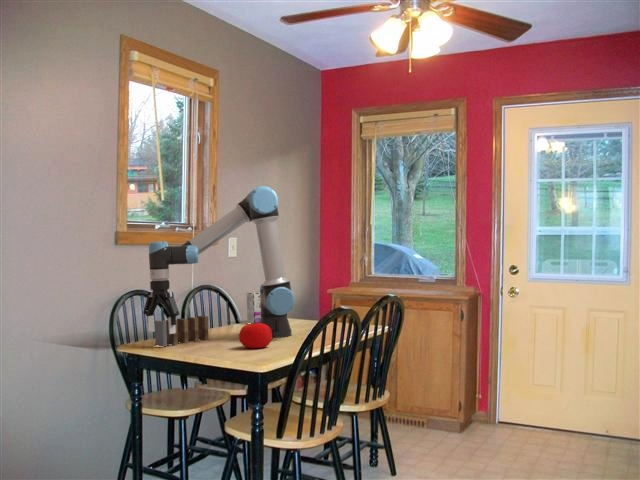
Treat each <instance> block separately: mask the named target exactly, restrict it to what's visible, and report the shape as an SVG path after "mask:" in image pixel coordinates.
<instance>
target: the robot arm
mask: <svg viewBox="0 0 640 480" xmlns="http://www.w3.org/2000/svg"><path fill="white" fill-rule="evenodd" d="M278 205H279V197H278V195H277V193H276V191H275V190H274V189H272V187H269V186H265V185H261V186H256V187H255V188H254V189H252V190H251V191H250V192H249V193H248V194H247V195H246V196H245V197H244V198H243V199H242V200H241V201H240V202H238V203H236V207H235V208H234V209H232V210H230V211H229V212H227V214H225V215H224V216H222V217H220V218H218V220H216V221H215V222H213V223H212V224H210V225H209V226H208V227H206V228H205V229H203V230H202V231H200V232H199V233H197V234H196V235H195V236H193V237H191V238H190V239H189V240H187V241H186V242H184V243H183V244H182V245H175V246H173V245H172V246H171V245H169V243H168V241H151V242H150V243H149V245H148V259H149V260H148V261H149V263H148V264H149V279H150V281H149V286H150V287H149V288H150V290H151V291H147V294H146V295H147V296H146V300H145V304H144V308H143V312H142V313H143V315H145V316H146V320H147V321H146V323H147V333H152V332H154V333H155V315H154V313H155V310H156V308H157V306H158V305H159V304H161V305H163V306H164V308H165V310H166V312H167V314H168V317H167V320H168V321H169V334H173V333H176V327H175V325H176V320H177V317H178V316H180V311H179V308H178V305H177V302H176V300H175V296H174V295H175V294H174V292H173V291H168V290H170V289H171V288H170V280H169V279H170V267H169V266H170V265H192V264H198V263H199V255H201V254H202V253H204V252H205V251H207V250H209V249H210V248H211V247H213V245H215V244H216V243H219V241H221V240H222V239H224V238H225V237H227V236H228V235H230V234H231V233H232V232H234V231H235V230H237V229H238V228H239V227H241V226H243V224H245V223H251V222H252V223H254V224H255V227H256V233H257V234H256V235H257V240H258V246H259V250H260V251H259V252H260V259H261V262H262V263H261V264H262V269H263V276H264V282H263V283H262V284H261V285H260V289H259V292H260V301H261V320H260V323H262V324H266V325H268V326H269V327H270V329H271V332H272V339H273V338H285V337H290V336H292V328H291V325H290V322H289V319H288V313H290V312H291V311H292V309H293V308H294V306H295V300H296V298H295V295H294V293H293V291H292V286H291V280H290V279H289V278H287V277H286V273H285V267H284V261H283V256H282V254H283V253H282V249H281V243H280V238H279V230H278V225H277V220H278V219H279V217H280V216H279V209H278ZM262 321H263V322H262Z"/></svg>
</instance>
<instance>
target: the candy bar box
mask: <svg viewBox="0 0 640 480" xmlns="http://www.w3.org/2000/svg"><path fill="white" fill-rule="evenodd" d="M246 308H247V309H246V312H247V313H246V315H247V324H248V323H254V322H256V323H260V320H261V301H260V291H254V292H253V291H252V292H247V293H246Z"/></svg>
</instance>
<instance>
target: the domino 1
mask: <svg viewBox="0 0 640 480" xmlns="http://www.w3.org/2000/svg"><path fill="white" fill-rule="evenodd" d="M154 326H155V331H154V335H155V340H154V342H155V344H154V346H155V345H159V346H167V330H166V320H154Z"/></svg>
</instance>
